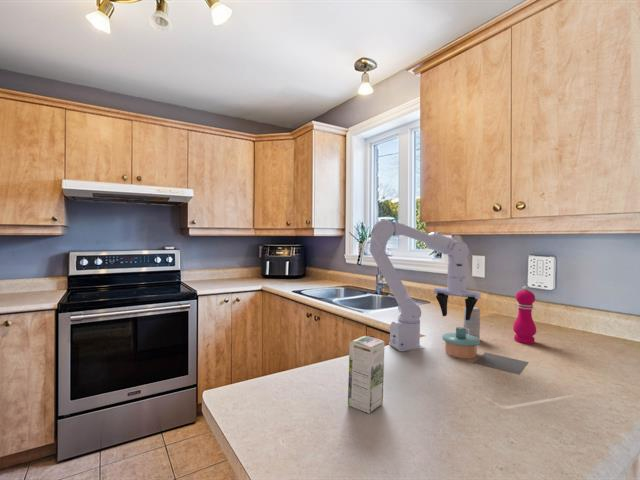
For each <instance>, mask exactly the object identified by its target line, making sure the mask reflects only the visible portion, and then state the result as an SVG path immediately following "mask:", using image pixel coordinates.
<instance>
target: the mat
mask: <svg viewBox="0 0 640 480" xmlns="http://www.w3.org/2000/svg"><path fill="white" fill-rule="evenodd" d="M472 363H473V364H475V365H480V366H484V367H488V368H492V369H496V370H498V371H499V370H500V371H503V372H507V373H511V374H515V375H520V374H521V373H522V371H523V370H524V369H525V368H526V367H527V365H528V364H529V361H526V360H521V359H517V358H511V357H507V356H503V355H499V354H498V355H497V354H496V353H495V354H494V353H491V352H490V353H489V352H485V351H484V353H482V355H480V356H479V357H478V358H477V359H476V360H474V361H473V362H472Z"/></svg>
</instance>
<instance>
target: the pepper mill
mask: <svg viewBox="0 0 640 480" xmlns="http://www.w3.org/2000/svg"><path fill="white" fill-rule="evenodd" d="M515 299H516V300H515V301H517V304H516V305H517V306H516V308H517V309H518V314H517V316H516V319H515V321H514V323H513V325H512V326H513V327H512V329H513V332H514V333H515V334H514V337H513V339H514V341H515V342H517V343H519V344H525V345H533V344H535V339H536V338H535V337H534V335H536V334H537V326H536V324H535V322H534V320H533V315H532V314H533V313H532V311H533V309H534V303H535V301H536V296H535V294H534V292H532V291H531V290H529V286H527V285H524V286H523V287H522V290H519V291H518V292H516V293H515Z"/></svg>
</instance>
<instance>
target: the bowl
mask: <svg viewBox="0 0 640 480" xmlns="http://www.w3.org/2000/svg"><path fill="white" fill-rule="evenodd" d="M477 348H478V345H476V346H461V345H455V344H451V343H448V342H446V341H444V351H445V353H446V354H447V355H449V356H451V357H455V358H459V359H473V358H476V357H477V355H478V349H477Z"/></svg>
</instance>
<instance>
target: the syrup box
mask: <svg viewBox="0 0 640 480" xmlns="http://www.w3.org/2000/svg"><path fill="white" fill-rule="evenodd" d="M385 343H386V342H385V340H381V339H379V338H376V337H373V336H367V335H363V336H360V337H358V338H356V339H353V340H351V341H349V354H348V355H349V357H348V385H347V386H348V389H347V393H348V394H347V405H348V406H349V407H351V408H352V409H356V410H358V411H361V412H364V413H366V412H367V414H369V413H370V414H371V413H373V412H374V411H375V410H377V409H378V408H379V407H380V406H382V405H383V403H384V402H383V401H384V400H383V399H384V374H385V372H384V371H385V370H384V369H385Z"/></svg>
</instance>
